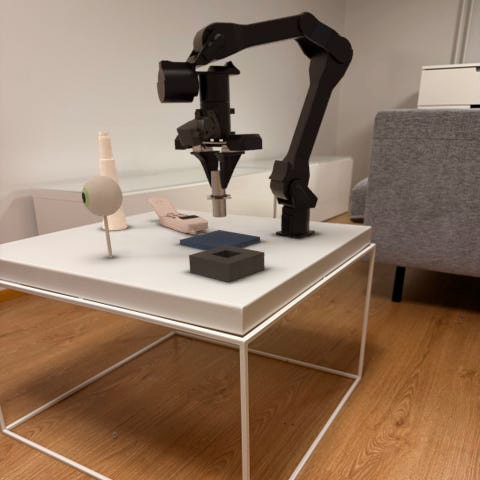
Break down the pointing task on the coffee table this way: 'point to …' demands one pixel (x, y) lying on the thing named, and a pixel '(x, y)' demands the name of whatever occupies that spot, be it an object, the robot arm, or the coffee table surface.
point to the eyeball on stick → (102, 200)
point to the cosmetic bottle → (109, 170)
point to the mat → (219, 240)
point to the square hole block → (226, 262)
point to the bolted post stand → (218, 195)
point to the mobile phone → (176, 217)
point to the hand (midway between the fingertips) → (218, 188)
